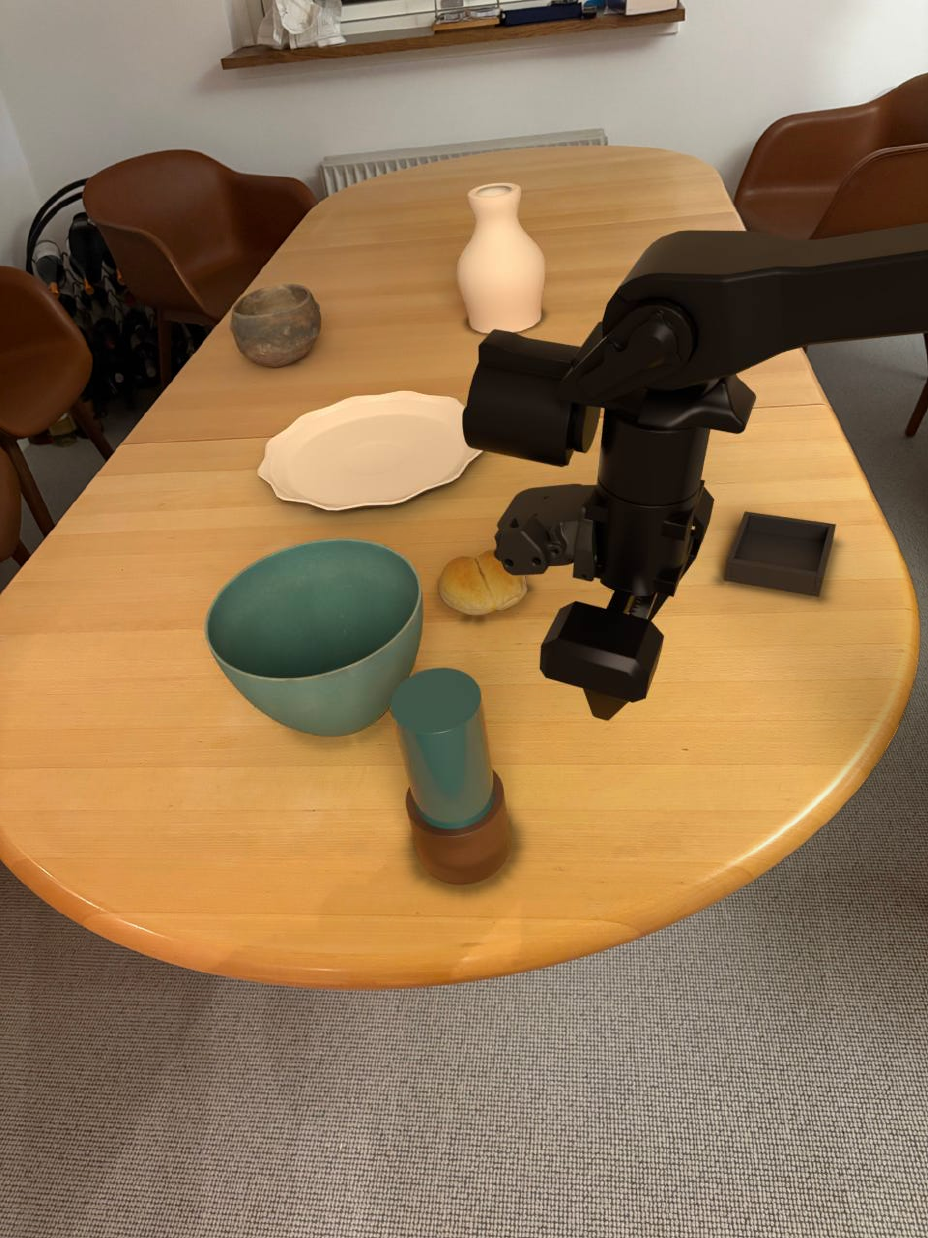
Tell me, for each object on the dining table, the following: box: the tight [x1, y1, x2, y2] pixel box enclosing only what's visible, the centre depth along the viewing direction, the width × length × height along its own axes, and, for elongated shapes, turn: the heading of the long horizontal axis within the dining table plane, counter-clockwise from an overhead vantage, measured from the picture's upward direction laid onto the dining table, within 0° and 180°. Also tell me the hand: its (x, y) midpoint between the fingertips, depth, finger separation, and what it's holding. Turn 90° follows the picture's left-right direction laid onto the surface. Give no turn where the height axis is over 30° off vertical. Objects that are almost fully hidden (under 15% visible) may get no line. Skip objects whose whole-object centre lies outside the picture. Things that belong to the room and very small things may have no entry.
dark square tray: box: [723, 511, 837, 598], centre depth 88 cm, size 9×9×2 cm
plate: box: [256, 390, 485, 513], centre depth 114 cm, size 29×29×2 cm
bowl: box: [229, 283, 322, 368], centre depth 140 cm, size 14×15×10 cm
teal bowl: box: [203, 537, 424, 738], centre depth 77 cm, size 18×18×12 cm
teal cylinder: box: [390, 667, 495, 829], centre depth 61 cm, size 6×6×10 cm
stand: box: [405, 768, 512, 886], centre depth 66 cm, size 7×7×6 cm
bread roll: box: [437, 549, 528, 616], centre depth 90 cm, size 8×9×4 cm
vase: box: [456, 182, 547, 335], centre depth 139 cm, size 14×14×20 cm
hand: (620, 669), depth 60 cm, fingers open, 9 cm apart
